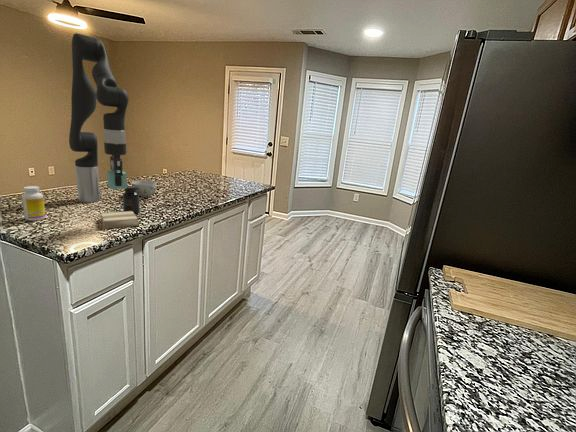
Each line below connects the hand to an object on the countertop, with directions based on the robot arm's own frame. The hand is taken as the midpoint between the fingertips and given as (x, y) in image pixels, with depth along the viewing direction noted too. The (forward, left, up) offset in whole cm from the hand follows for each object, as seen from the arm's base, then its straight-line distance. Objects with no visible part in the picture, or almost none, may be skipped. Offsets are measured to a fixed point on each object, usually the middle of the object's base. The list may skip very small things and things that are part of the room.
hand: (117, 184), depth 125 cm
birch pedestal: (0, 0, -16) cm, 16 cm away
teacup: (-43, +19, -17) cm, 50 cm away
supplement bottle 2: (-14, +7, -17) cm, 23 cm away
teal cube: (0, 0, -1) cm, 1 cm away
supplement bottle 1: (-14, -28, -17) cm, 35 cm away
